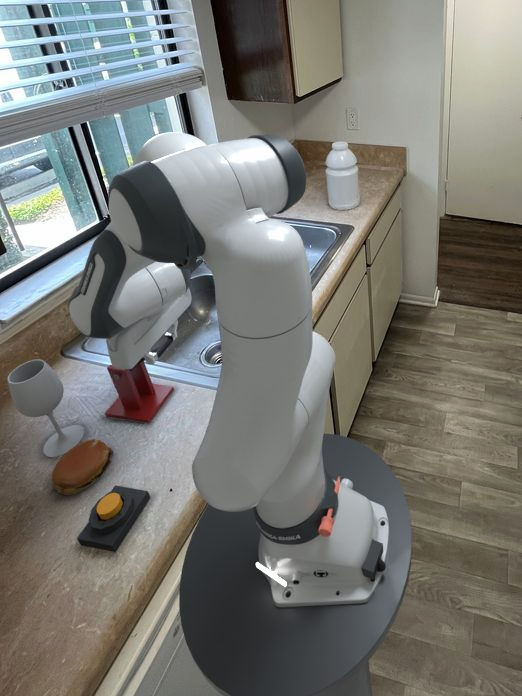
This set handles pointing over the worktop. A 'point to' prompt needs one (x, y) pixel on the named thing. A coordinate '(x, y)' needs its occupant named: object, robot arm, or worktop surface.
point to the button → (109, 506)
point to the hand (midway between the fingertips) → (163, 349)
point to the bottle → (342, 177)
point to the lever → (158, 350)
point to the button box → (114, 520)
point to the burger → (81, 466)
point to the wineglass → (43, 402)
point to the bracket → (136, 394)
